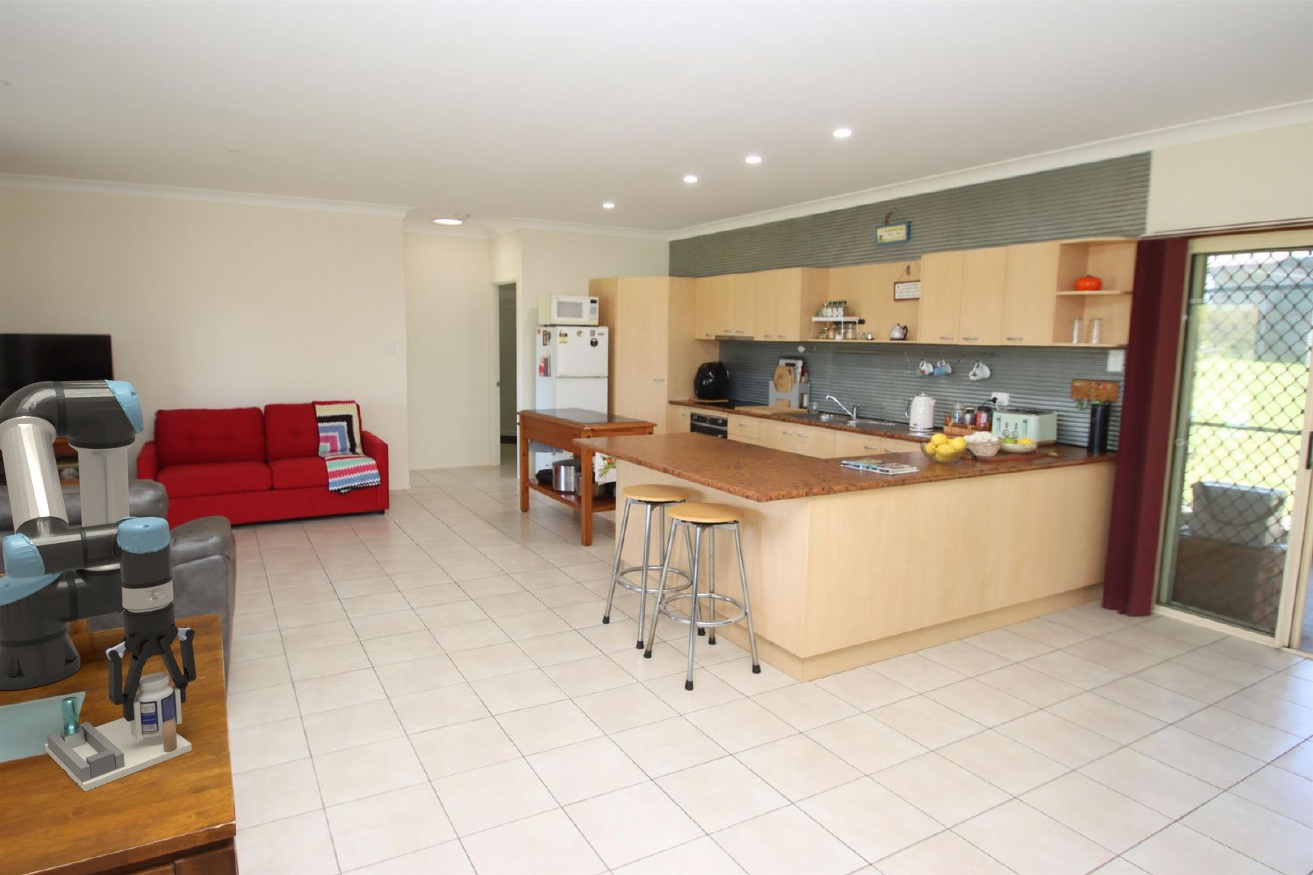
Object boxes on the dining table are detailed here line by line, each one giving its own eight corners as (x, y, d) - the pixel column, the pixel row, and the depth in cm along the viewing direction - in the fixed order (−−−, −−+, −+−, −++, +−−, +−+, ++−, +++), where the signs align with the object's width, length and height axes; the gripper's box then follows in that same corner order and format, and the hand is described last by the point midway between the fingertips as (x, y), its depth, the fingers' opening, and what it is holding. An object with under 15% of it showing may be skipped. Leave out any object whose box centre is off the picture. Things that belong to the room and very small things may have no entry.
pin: (60, 744, 134) (56, 700, 133) (79, 738, 136) (75, 694, 135) (65, 750, 132) (62, 704, 131) (84, 743, 134) (81, 699, 133)
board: (45, 750, 134) (42, 717, 133) (146, 715, 147) (144, 685, 146) (84, 791, 122) (82, 755, 122) (191, 750, 135) (189, 717, 134)
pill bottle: (169, 718, 140) (166, 668, 139) (180, 729, 137) (177, 677, 135) (133, 730, 136) (129, 678, 135) (144, 741, 132) (140, 688, 131)
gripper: (93, 625, 124) (103, 757, 127) (214, 596, 139) (221, 714, 142) (77, 615, 128) (87, 742, 131) (196, 587, 143) (203, 702, 146)
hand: (156, 727), depth 136 cm, fingers closed on pill bottle, 6 cm apart
